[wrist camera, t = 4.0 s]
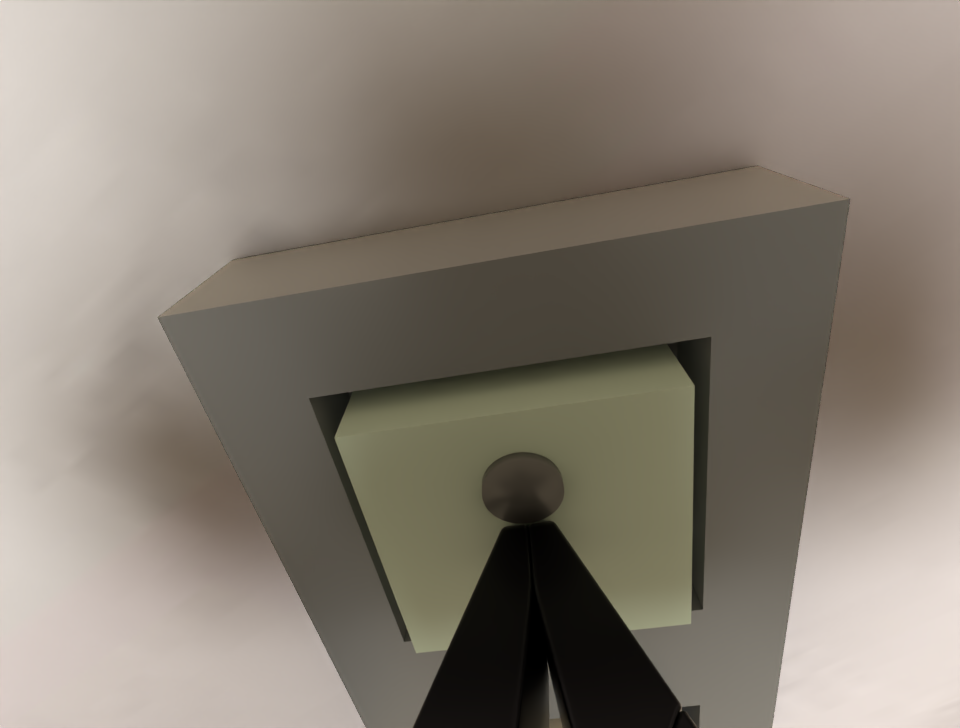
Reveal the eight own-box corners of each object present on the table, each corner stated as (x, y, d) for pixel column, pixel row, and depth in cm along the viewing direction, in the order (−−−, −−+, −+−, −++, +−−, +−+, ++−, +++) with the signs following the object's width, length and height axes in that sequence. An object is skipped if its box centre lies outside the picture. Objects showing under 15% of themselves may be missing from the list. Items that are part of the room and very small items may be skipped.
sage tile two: (658, 537, 11) (694, 634, 9) (426, 565, 12) (414, 663, 10) (653, 322, 9) (699, 393, 7) (361, 369, 9) (330, 446, 7)
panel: (719, 749, 17) (753, 849, 15) (444, 773, 18) (438, 871, 16) (757, 165, 9) (850, 198, 7) (232, 259, 10) (157, 317, 7)
